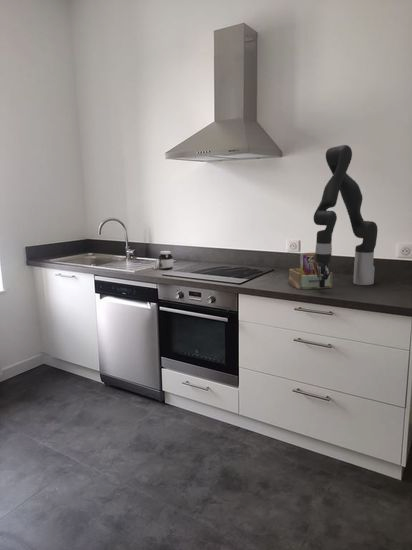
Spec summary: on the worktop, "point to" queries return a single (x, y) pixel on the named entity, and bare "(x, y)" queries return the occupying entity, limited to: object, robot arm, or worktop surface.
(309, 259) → the candy box
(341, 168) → the robot arm
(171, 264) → the spread jar
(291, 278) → the caddy
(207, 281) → the worktop surface
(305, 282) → the white boxy piece
